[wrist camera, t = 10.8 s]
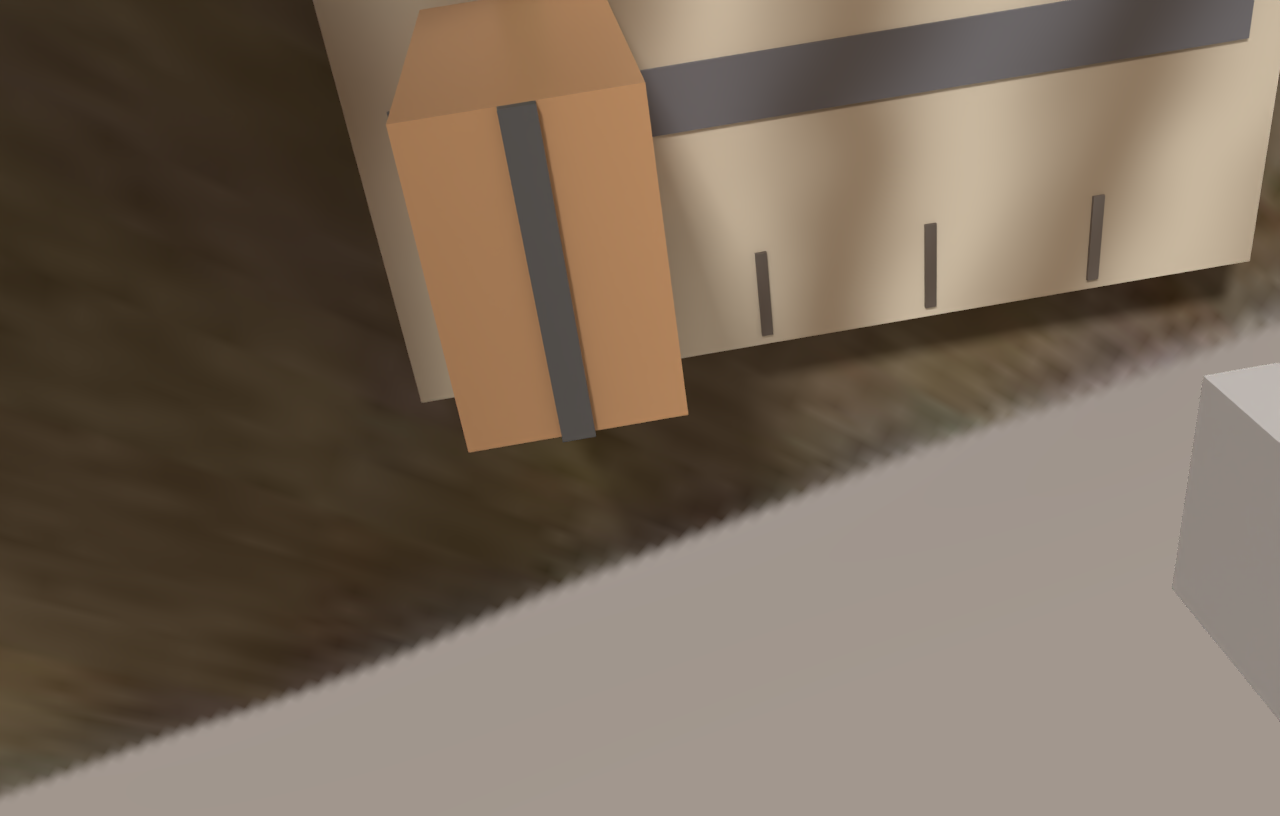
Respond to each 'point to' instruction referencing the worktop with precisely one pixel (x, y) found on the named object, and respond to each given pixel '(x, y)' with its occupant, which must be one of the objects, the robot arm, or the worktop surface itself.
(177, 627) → the worktop surface
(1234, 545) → the robot arm
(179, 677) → the worktop surface
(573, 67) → the block
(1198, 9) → the fader board
